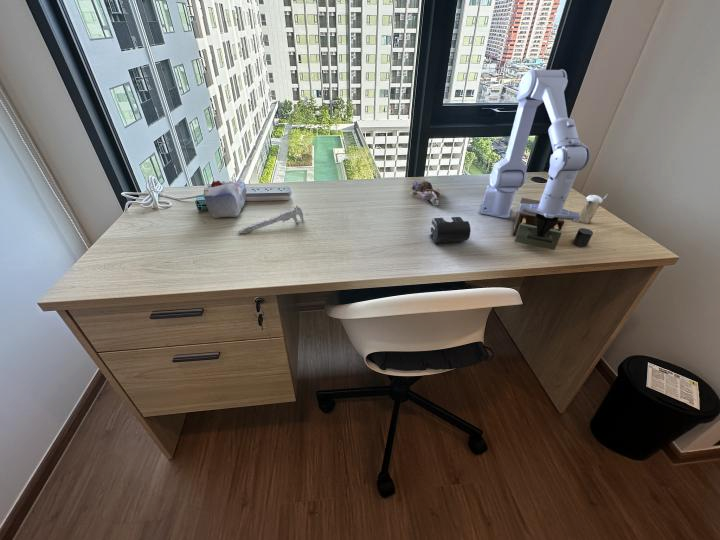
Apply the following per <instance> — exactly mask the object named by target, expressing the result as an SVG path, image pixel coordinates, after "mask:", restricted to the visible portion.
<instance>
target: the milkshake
mask: <svg viewBox="0 0 720 540" xmlns="http://www.w3.org/2000/svg"><path fill="white" fill-rule="evenodd" d="M607 196H608V193H607V194H605V195H604V196H603V197H601V196H599V195H597V194H589V195H587V196H586V197H585V201H584V204H583V207H582V210H581V213H580V218H579V220H578V222H580V223H583V224H590V223H591V221H592V219H593V218H594V216H595V215H596V213H597V211H598V209H599V208H600V206H601V204H602V203H603V201H604V199H605V198H606V197H607Z"/></svg>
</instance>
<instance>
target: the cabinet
mask: <svg viewBox="0 0 720 540" xmlns="http://www.w3.org/2000/svg"><path fill="white" fill-rule="evenodd" d="M521 203H524V204H539V203H540V200H537V199H532V198H525V197H521V199H520V202H519V205H518V208H517V211H516V214H515V217H514V224H513V229H512V230H513V231H512V236H515V237H516V235H517V232H518V229H519V224H520V221H521V218H522V216H523V217H528V218H533V219H536V214H532V213H526V212H522V213H521V212H518V211H519V207H520V204H521ZM557 223H558V231H562V229H563V226H564V224H565V219H559V218H558V222H557Z"/></svg>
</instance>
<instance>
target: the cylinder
mask: <svg viewBox="0 0 720 540" xmlns="http://www.w3.org/2000/svg"><path fill="white" fill-rule="evenodd" d="M593 235H594V231H593V230H591V229H589V228H586V227H580V228H578V230H577V232H576V234H575V237H574V239H573V241H572V244H573V245H574V246H576V247H579V248H587V247H588V245H589V243H590V241H591V239H592V237H593Z"/></svg>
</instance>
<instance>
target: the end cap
mask: <svg viewBox="0 0 720 540" xmlns="http://www.w3.org/2000/svg"><path fill="white" fill-rule="evenodd" d="M431 225H432V226H431V227H430V232H431V234H430V236H429V237H430V239H431V240H432V242H433V243H434V244H442V243H443V244H444V243H459V242H460V243H461V242H465V241H468V240H469V239H470V237H471V224H470V222H469V221H468V220H464V219H463V218H462V217H461V216H451V221H446V220H445V219H444V217H433V218H432V220H431Z"/></svg>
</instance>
